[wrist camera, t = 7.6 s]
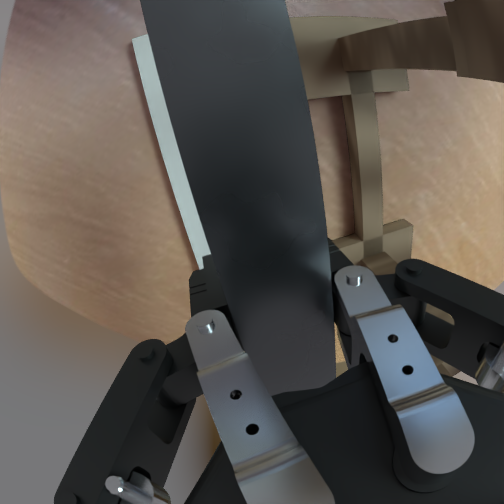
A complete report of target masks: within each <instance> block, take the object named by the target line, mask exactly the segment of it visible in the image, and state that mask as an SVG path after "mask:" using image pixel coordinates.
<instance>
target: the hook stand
mask: <svg viewBox="0 0 504 504" xmlns="http://www.w3.org/2000/svg"><path fill="white" fill-rule="evenodd" d="M444 5H445V10H446V14H447V16H443V17H435V18H427V19H421V20H414V21H409V22H403V23H398V21H397V20H392V19H382V18H369V17H349V16H313V17H292V18H289V19H290V23H291V27H292V31H293V35H294V39H295V44H296V48H297V52H298V57H299V61H300V66H301V70H302V75H303V80H304V85H305V90H306V95H307V100H309V99H317V98H324V97H332V96H341V95H342V101H343V108H344V115H345V122H346V130H347V138H348V146H349V156H350V166H351V176H352V189H353V203H354V220H355V234H352V235H349V236H345V237H342V238H339V239H335V240H332V242H333V243H334V244H335V245H336V246H337V247H338V248H339V250H341V251H342V252H343V253H344V255H345V256H346V257H347V258H348V259H349V260H350V261H351V262H352V263H353V264H354V265H357V266H363V267H366V268H368V269H370V270H371V271H372V272H373V274H374V275H385V274H394V273H395V268H396V265H397V264H398V263H399V262H401V261H403V260H406V259H411V250H412V237H413V225H412V224H411V223H409V222H408V221H406V220H405V219H402V220H398V221H395V222H392V223H389V224H385V225H383V194H382V170H381V154H380V141H379V130H378V120H377V111H376V103H375V95H374V92H391V91H409V84H408V76H407V69H424V70H446V71H457V76H459V77H469V78H476V79H483V80H490V81H496V82H502V83H504V0H455V1H452V2H446V3H444ZM426 312H428V313H430V314H432V315H434V316H436V317H439V318H441V319H443V320H445V321H447V322H449V323H451V324H453V325H454V319H453V318H452V317H451V316H450V315H449V314H448V313H446V312H444V311H442V310H440V309H438V308H436V307H434V306H432V305H430V304H427V307H426ZM430 356H431V358H432V360H433V362H434V364H435V365H436V367H437V369H438V371H439V373H442V374H445V375H448V376H451V377H453V376H454V375H456V374H457V373H459V372H460V370H458V369H456V368H454V367H453V366H451V365H449V364H447V363H445V362H443V361H442V360H440V359H438V358H436V357H434V356H433V355H431V354H430Z"/></svg>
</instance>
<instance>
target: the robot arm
mask: <svg viewBox="0 0 504 504" xmlns="http://www.w3.org/2000/svg"><path fill="white" fill-rule="evenodd" d="M328 247H329V257H330V269H331V281H332V295H333V311H334V322H335V324H336V325H337V335H338V338H339V341H340V345H341V348H342V351H343V354H344V357H345V360H346V363H347V367H348V370H347V371H346V372H344V373H343V374H341V375H340V376H338V377H337V378H335V379H334V380H332V381H331V382H329V383H328V384H326V385H325V386H323V387H320V388H315V389H307V390H299V391H290V392H283V393H280V394H276V395H273V396H271V395H270V394H269V392H268V390H267V388H266V387H265V385H264V383H263V381H262V380H261V378H260V376H259V374H258V373H257V371H256V369H255V367H254V365H253V364H252V362H251V360H250V358H249V356H248V355H247V353H246V352H244V348H243V345H242V343H241V340H240V337H239V334H238V331H237V329H236V326H235V323H234V320H233V317H232V314H231V312H230V309H229V306H228V303H227V300H226V297H225V294H224V291H223V288H222V286H221V283H220V280H219V277H218V274H217V271H216V268H215V265H214V262H213V259H212V256H211V254H209V255H206V256H202V260H203V267H204V268H203V269H200V270H196V271H193V273H192V275H191V277H190V279H189V288H190V289H189V291H190V307H191V319H190V320H189V321H188V322H187V324H186V327H185V331H186V333H185V334H184V335H183V336H181V337H180V338H178V339H177V340H175V341H173V342H171V343H169V344H167V345H165V344H164V343H163V342H162V341H161V340H157V339H149V340H146V341H143V342H141V343H139V344H138V345H137V346H136V347H134V348H133V349H132V351H131V352H130V354H129V356H128V357H127V359H126V361H125V363H124V364H123V366H122V368H121V370H120V371H119V373H118V375H117V376H116V378H115V380H114V382H113V384H112V385H111V387H110V389H109V391H108V393H107V394H106V396H105V398H104V400H103V402H102V403H101V405H100V407H99V409H98V411H97V413H96V414H95V416H94V418H93V420H92V422H91V424H90V426H89V427H88V429H87V431H86V433H85V435H84V437H83V439H82V441H81V443H80V445H79V447H78V449H77V451H76V452H75V455H74V456H73V458H72V461H71V462H70V464H69V467H68V468H67V471H66V473H65V475H64V477H63V479H62V481H61V483H60V485H59V487H58V489H57V492H56V494H55V497H54V504H171V500H170V496H169V494H168V493H167V491H166V490H165V489H164V488H163V487H164V484H165V482H166V479H167V477H168V474H169V471H170V469H171V466H172V463H173V460H174V458H175V455H176V453H177V450H178V447H179V445H180V442H181V439H182V437H183V434H184V432H185V429H186V426H187V423H188V421H189V418H190V416H191V413H192V410H193V408H194V405H195V402H196V397H198V396H200V395H202V394H204V395H205V398H206V401H207V404H208V406H209V409H210V412H211V414H212V417H213V420H214V422H215V425H216V427H217V430H218V432H219V435H220V437H221V440H222V441H221V442H220V444H219V446H218V447H217V449H216V451H215V453H214V455H213V456H212V458H211V460H210V462H209V463H208V465H207V466H206V468H205V470H204V472H203V473H202V475H201V477H200V478H199V480H198V482H197V483H196V485H195V487H194V488H193V490H192V492H191V493H190V495H189V496H188V498H187V500H186V501H185V503H184V504H504V295H503V294H500V293H498V292H496V291H494V290H491V289H489V288H487V287H485V286H482V285H480V284H478V283H475V282H473V281H471V280H468V279H466V278H464V277H461V276H459V275H457V274H454V273H452V272H449V271H447V270H444V269H442V268H440V267H437V266H435V265H432V264H430V263H427V262H425V261H422V260H419V259H406V260H403V261H401V262H399V263H398V264H397V265H396V268H395V273H394V274H385V275H374V274H373V272H372V271H371V270H370V269H368V268H366V267H363V266H357V265H354V264H353V263H352V262H351V261H350V260H349V259H348V258H347V257H346V256H345V255H344V253H343V252H342V251H341V250H339V248H338V247H337V246H336V245H335V244H334V243H333V242H332V241H331V240H330V239H329V238H328ZM427 304H430V305H432V306H434V307H436V308H438V309H440V310H442V311H444V312H446V313H448V314H450V315H451V316H452V318H453V319H454V325H453V324H451V323H449V322H447V321H445V320H443V319H441V318H439V317H436V316H434V315H432V314H430V313H428V312H426V307H427ZM430 354H431V355H433V356H434V357H436V358H438V359H440V360H442V361H443V362H445V363H447V364H449V365H451V366H453V367H454V368H456V369H458V370H460V371H462V372H463V373H465V374H467V375H469V376H471V377H473V378H474V379H476V381H477V383H478V385H479V386H478V385H475V384H472V383H469V382H466V381H463V380H460V379H457V378H453V377H451V376H448V375H445V374H442V373H439V371H438V369H437V367H436V365H435V364H434V362H433V360H432V358H431V356H430Z"/></svg>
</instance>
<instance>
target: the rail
mask: <svg viewBox="0 0 504 504" xmlns="http://www.w3.org/2000/svg"><path fill="white" fill-rule="evenodd" d="M140 2H141V7H142V11H143V15H144V20H145V24H146V28H147V32H148V37H149V41H150V45H151V49H152V53H153V57H154V61H155V65H156V69H157V73H158V76H159V80H160V84H161V88H162V92H163V95H164V99H165V103H166V106H167V110H168V114H169V117H170V121H171V125H172V128H173V132H174V135H175V139H176V142H177V146H178V149H179V153H180V156H181V159H182V163H183V166H184V170H185V173H186V176H187V180H188V183H189V186H190V189H191V193H192V196H193V199H194V202H195V206H196V209H197V212H198V215H199V218H200V222H201V225H202V228H203V231H204V234H205V237H206V240H207V243H208V246H209V250H210V253H211V256H212V259H213V262H214V265H215V268H216V271H217V274H218V277H219V280H220V283H221V286H222V288H223V291H224V294H225V297H226V300H227V303H228V306H229V309H230V312H231V314H232V317H233V320H234V323H235V326H236V329H237V331H238V334H239V337H240V340H241V343H242V345H243V348H244V351H245V352H246V353H247V355H248V356H249V358H250V360H251V362H252V364H253V365H254V367H255V369H256V371H257V373H258V374H259V376H260V378H261V380H262V381H263V383H264V385H265V387H266V388H267V390H268V392H269V394H270V395H271V396H273V395H276V394H280V393H283V392H290V391H299V390H307V389H315V388H320V387H323V386H325V385H326V384H328V383H329V382H331V381H332V380H334V379H335V378H336V358H335V331H334V311H333V295H332V281H331V269H330V257H329V247H328V237H327V227H326V218H325V210H324V202H323V194H322V186H321V179H320V172H319V165H318V158H317V152H316V145H315V139H314V133H313V127H312V122H311V116H310V111H309V105H308V100H307V95H306V90H305V85H304V80H303V75H302V70H301V66H300V61H299V57H298V52H297V48H296V44H295V39H294V35H293V31H292V27H291V23H290V19H289V15H288V12H287V8H286V4H285V0H140Z"/></svg>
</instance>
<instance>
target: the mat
mask: <svg viewBox="0 0 504 504" xmlns="http://www.w3.org/2000/svg"><path fill="white" fill-rule="evenodd" d="M132 43H133V47H134V51H135V56H136V60H137V64H138V68H139V72H140V76H141V80H142V84H143V88H144V91H145V95H146V99H147V103H148V107H149V110H150V114H151V117H152V121H153V125H154V128H155V132H156V135H157V139H158V142H159V146H160V149H161V152H162V156H163V159H164V162H165V166H166V169H167V172H168V176H169V179H170V182H171V185H172V188H173V192H174V195H175V198H176V201H177V204H178V207H179V210H180V213H181V216H182V219H183V222H184V225H185V228H186V231H187V234H188V237H189V240H190V243H191V246H192V249H193V252H194V255H195V257H196V260H197V263H198V266H199V269H203V268H204V267H203V260H202V256H206V255H209V254H211V253H210V250H209V246H208V243H207V240H206V237H205V234H204V231H203V228H202V225H201V222H200V218H199V215H198V212H197V209H196V206H195V202H194V199H193V196H192V193H191V189H190V186H189V183H188V180H187V176H186V173H185V170H184V166H183V163H182V159H181V156H180V153H179V149H178V146H177V142H176V139H175V135H174V132H173V128H172V125H171V121H170V117H169V114H168V110H167V106H166V103H165V99H164V95H163V92H162V88H161V84H160V80H159V76H158V73H157V69H156V65H155V61H154V57H153V53H152V49H151V45H150V41H149V37H148V34H146V35H143V36H139V37H136V38H133V39H132Z"/></svg>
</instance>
